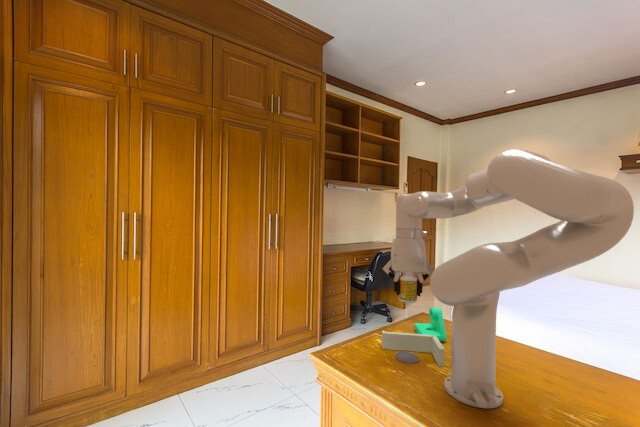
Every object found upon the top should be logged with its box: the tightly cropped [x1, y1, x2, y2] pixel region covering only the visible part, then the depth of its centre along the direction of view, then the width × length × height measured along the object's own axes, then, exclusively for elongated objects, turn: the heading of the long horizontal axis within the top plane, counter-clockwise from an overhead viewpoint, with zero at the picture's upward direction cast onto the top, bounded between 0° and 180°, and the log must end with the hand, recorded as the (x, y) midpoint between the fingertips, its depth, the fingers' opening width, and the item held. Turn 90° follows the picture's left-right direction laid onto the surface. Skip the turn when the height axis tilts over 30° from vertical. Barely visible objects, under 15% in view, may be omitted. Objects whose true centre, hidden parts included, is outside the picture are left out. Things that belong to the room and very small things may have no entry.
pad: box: [394, 351, 420, 365], centre depth 89 cm, size 7×7×1 cm
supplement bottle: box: [398, 272, 418, 304], centre depth 90 cm, size 5×5×10 cm
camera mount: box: [414, 307, 447, 342], centre depth 107 cm, size 12×8×10 cm, turn 177°
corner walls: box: [381, 330, 446, 368], centre depth 90 cm, size 10×17×5 cm, turn 82°
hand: (407, 294), depth 90 cm, fingers closed on supplement bottle, 5 cm apart
